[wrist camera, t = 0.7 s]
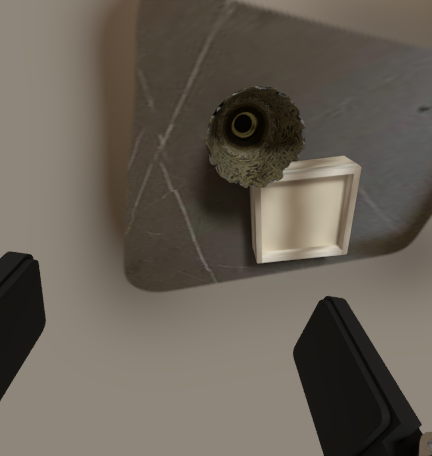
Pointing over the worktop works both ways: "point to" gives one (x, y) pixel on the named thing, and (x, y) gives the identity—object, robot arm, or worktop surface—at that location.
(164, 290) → the worktop surface
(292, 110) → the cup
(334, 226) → the birch tray
